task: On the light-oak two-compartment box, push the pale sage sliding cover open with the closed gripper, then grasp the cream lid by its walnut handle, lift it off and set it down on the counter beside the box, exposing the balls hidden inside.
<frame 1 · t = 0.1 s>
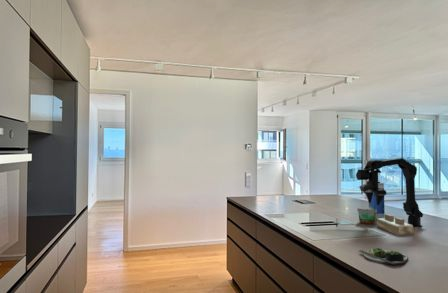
hand: (373, 204, 196), 15 cm above the counter, fingers open, 9 cm apart
food container: (366, 224, 204), on the counter
ball b: (400, 228, 184), point 2 cm above the counter, touching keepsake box
ball c: (398, 230, 180), point 2 cm above the counter, touching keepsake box
string lights box: (376, 216, 227), on the counter
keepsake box: (394, 230, 187), on the counter
ball a: (389, 225, 192), point 2 cm above the counter, touching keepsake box
cover: (389, 218, 191), point 6 cm above the counter, slide at 0.0 cm
salad plate: (386, 259, 137), on the counter
lid: (399, 224, 182), point 4 cm above the counter, touching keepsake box
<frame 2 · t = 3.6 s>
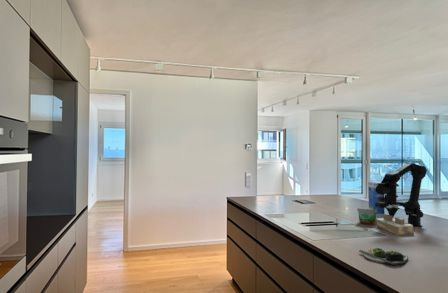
hand: (391, 218, 192), 6 cm above the counter, fingers closed
cover: (387, 218, 191), point 6 cm above the counter, slide at 0.9 cm, touching gripper
everything else where it was.
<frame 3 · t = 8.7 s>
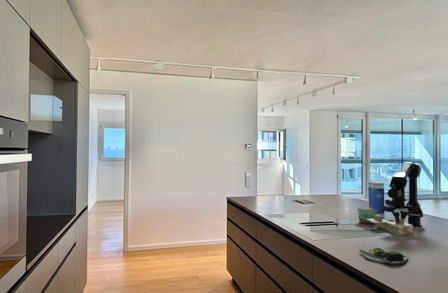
hand: (399, 223, 182), 6 cm above the counter, fingers closed on lid, 2 cm apart
cover: (378, 218, 191), point 7 cm above the counter, slide at 7.4 cm
lid: (399, 224, 182), point 4 cm above the counter, touching gripper, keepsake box
everything else where it was.
when the fingers open (3 cm above the counter, at t = 13.1 s): lid drops 1 cm, on the counter.
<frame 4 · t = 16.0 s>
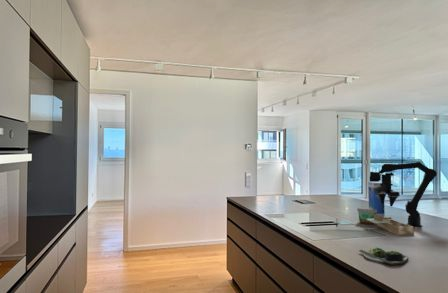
hand: (386, 205, 206), 12 cm above the counter, fingers open, 9 cm apart
lid: (386, 222, 206), on the counter
everything else where it was.
at the end: cover slide at 7.4 cm; lid inside the target area (0.1 cm from its centre), on the counter; lid touching counter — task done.
